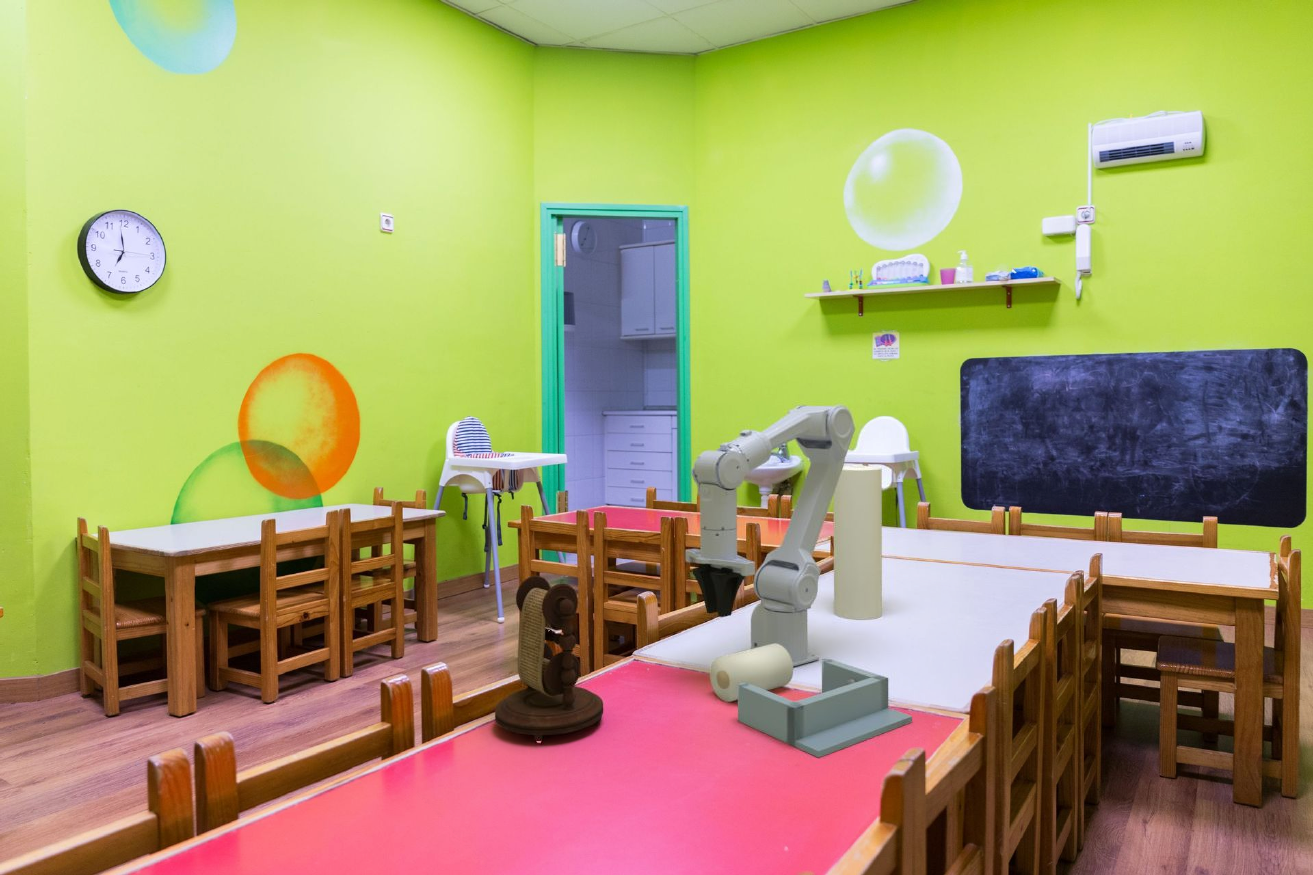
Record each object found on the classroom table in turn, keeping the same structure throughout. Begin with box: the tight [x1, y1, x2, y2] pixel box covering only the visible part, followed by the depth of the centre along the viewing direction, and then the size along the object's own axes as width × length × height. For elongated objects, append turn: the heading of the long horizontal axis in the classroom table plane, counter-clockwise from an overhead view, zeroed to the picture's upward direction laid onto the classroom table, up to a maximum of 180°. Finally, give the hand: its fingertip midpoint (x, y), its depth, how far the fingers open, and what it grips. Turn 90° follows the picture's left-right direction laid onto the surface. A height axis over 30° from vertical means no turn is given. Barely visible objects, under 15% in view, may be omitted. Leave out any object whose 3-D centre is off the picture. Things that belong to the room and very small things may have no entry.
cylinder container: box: [833, 464, 883, 621], centre depth 170 cm, size 9×9×30 cm
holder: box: [737, 658, 913, 758], centre depth 115 cm, size 15×18×5 cm
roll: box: [709, 643, 794, 703], centre depth 127 cm, size 12×6×6 cm, turn 126°
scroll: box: [494, 575, 604, 742], centre depth 115 cm, size 15×15×20 cm
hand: (719, 613), depth 132 cm, fingers open, 2 cm apart
